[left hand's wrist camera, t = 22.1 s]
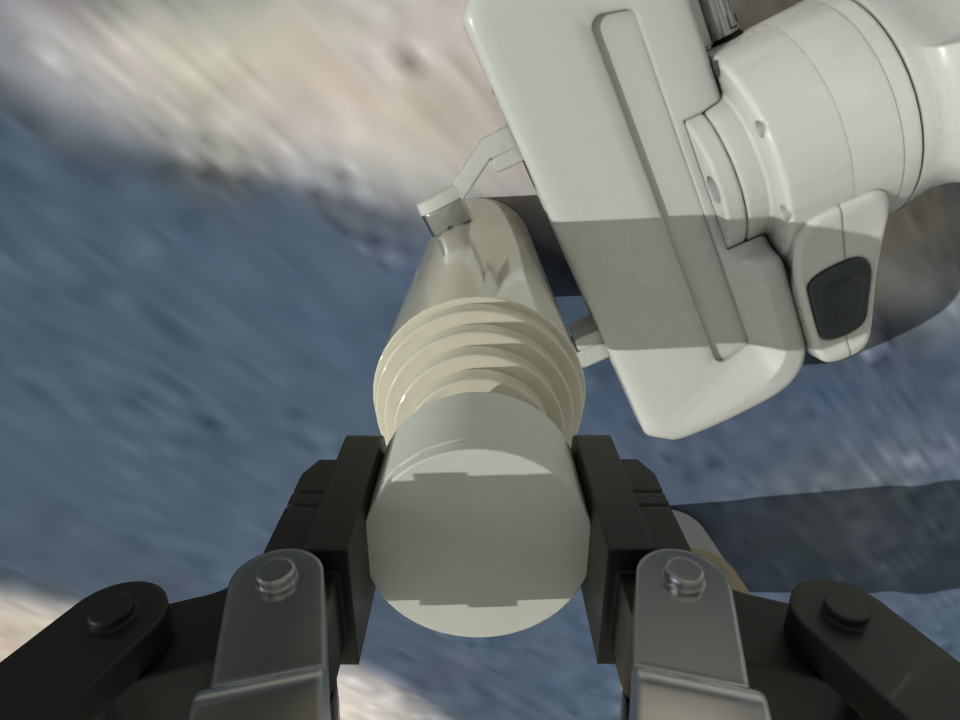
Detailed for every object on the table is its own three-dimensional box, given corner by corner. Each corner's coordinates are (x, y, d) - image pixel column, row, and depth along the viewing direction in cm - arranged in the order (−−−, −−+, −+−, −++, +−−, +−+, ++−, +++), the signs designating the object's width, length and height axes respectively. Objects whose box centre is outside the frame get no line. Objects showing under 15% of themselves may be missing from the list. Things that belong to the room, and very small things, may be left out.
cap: (397, 372, 12) (378, 429, 10) (597, 409, 12) (622, 472, 10) (369, 539, 13) (348, 620, 11) (548, 569, 13) (561, 652, 11)
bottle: (489, 319, 34) (504, 686, 12) (408, 260, 33) (266, 552, 11) (553, 240, 32) (698, 504, 11) (470, 175, 31) (443, 323, 9)
